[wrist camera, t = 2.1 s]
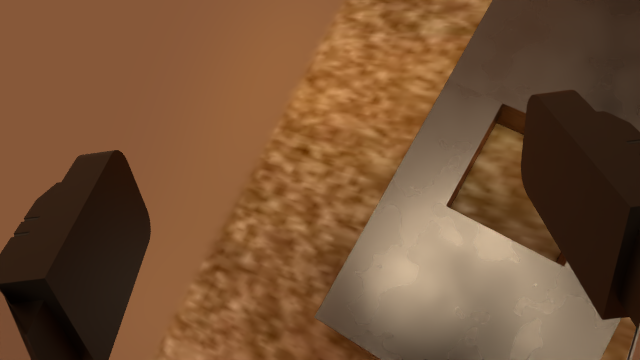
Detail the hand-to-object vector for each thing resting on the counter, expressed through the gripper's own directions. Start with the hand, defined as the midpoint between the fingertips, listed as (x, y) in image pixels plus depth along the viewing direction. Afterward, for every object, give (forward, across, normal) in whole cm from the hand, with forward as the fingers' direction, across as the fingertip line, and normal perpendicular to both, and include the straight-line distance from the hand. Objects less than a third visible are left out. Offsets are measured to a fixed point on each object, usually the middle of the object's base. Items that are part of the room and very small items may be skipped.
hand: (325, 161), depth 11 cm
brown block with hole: (+14, -10, +12) cm, 21 cm away
